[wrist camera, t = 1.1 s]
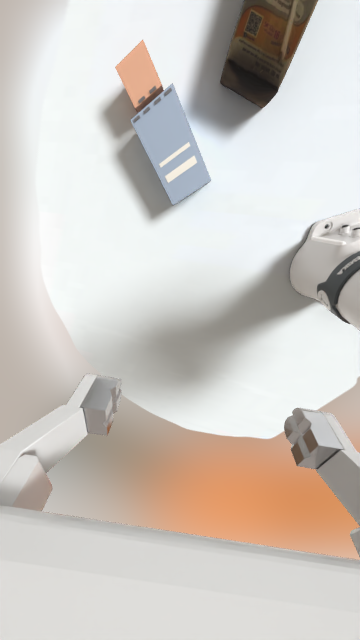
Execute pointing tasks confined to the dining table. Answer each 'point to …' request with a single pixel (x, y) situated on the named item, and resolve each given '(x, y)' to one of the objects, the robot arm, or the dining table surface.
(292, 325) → the dining table surface
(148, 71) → the stub
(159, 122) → the double-striped slate block
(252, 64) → the beverage carton
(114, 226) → the dining table surface
